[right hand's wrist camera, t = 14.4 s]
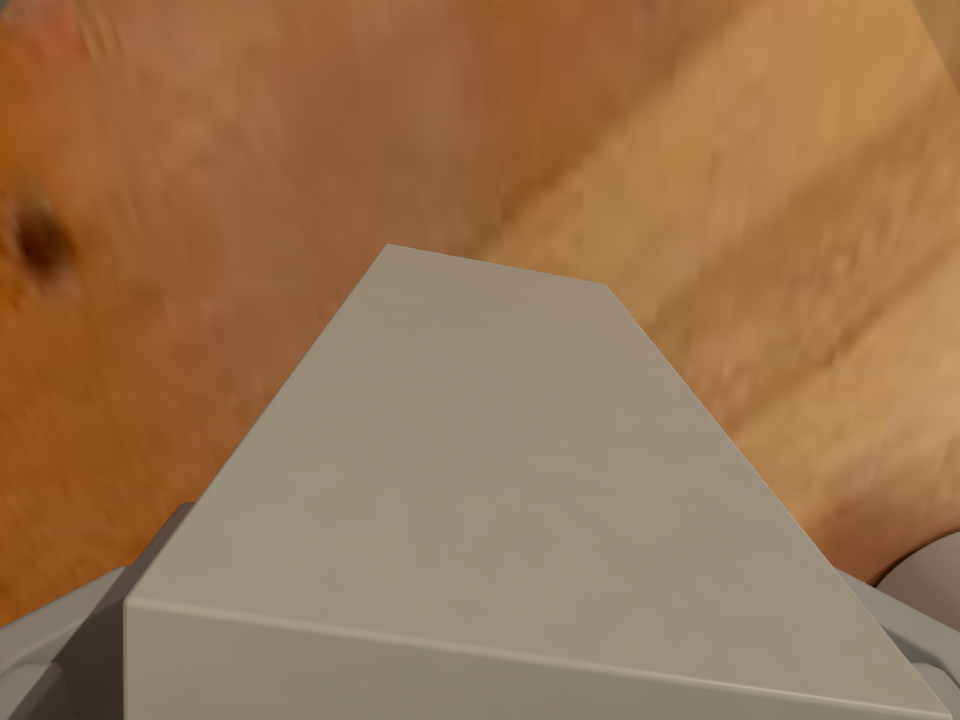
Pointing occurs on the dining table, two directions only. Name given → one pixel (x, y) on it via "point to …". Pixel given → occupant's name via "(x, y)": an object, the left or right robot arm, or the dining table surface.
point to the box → (496, 535)
